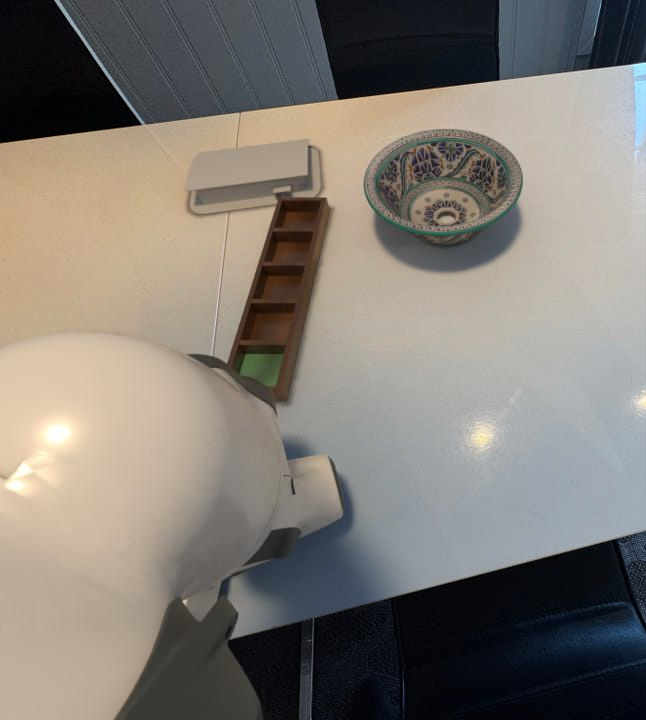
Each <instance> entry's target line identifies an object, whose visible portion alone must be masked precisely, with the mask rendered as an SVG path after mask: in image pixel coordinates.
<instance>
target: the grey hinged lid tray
mask: <svg viewBox="0 0 646 720" xmlns="http://www.w3.org/2000/svg"><path fill="white" fill-rule="evenodd" d="M309 143H310V138H303V139H295V140H288V141H286V140H285V141H280V142H272V143H263V144H254V145H247V146H238V147H231V148H224V149H222V148H221V149H216V150H206V151H199V152H197V153H196V155H195V156H194V157H193V159H192V161H191V164H190V167H189V171H188V174H187V178H186V179H187V180H186V183H185V190H184V191H185V193H187V192H191V194H190V199H189V207H190V211H192V212H193V213H194V214H196V215H209V214H215V213H223V212H229V211H231V212H232V211H238V210H245V209H251V208H252V209H253V208H261V207H266V206H274V205H277V201H278V198H279V197H317V196H318V194H320V191H321V188H322V181H321V166H320V155H319V152H318V151H317V150H316V149H315V148H313V147H309Z"/></svg>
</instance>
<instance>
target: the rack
mask: <svg viewBox="0 0 646 720" xmlns="http://www.w3.org/2000/svg"><path fill="white" fill-rule="evenodd" d="M330 213H331V208H330V205H329V201H328V198H327V197H325V196H324V197H323V196H321V197H319V196H318V197H317V196H315V197H279V198H278V201H277V204H275V208H274V211H273V215H272V217H271V221H270V224H269V227H268V231H267V234H266V237H265V241H264V242H263V243H264V244H263V247H262V250H261V253H260V256H259V259H258V263H257V266H256V269H255V273H254V276H253V279H252V282H251V285H250V288H249V292H248V295H247V298H246V301H245V304H244V308H243V311H242V314H241V317H240V320H239V323H238V326H237V330H236V333H235V337H234V340H233V343H232V346H231V350H230V353H229V356H228V359H227V362H226V363H227V364H228V365H229V366H230V367H231V368H232V369H233V370H234V371H235V372H236V373H238V374H239V375H242V376H248V377H251V378H253V379H255V380H257V381H259V382H261V383H263V384H264V385H266V386H267V387H268V388H270V389H271V390H272V391H273V393H274V399H275V402H288V399H289V393H290V389H291V385H292V381H293V376H294V372H295V369H296V368H295V367H296V363H297V358H298V355H299V349H300V346H301V341H302V337H303V332H304V328H305V323H306V319H307V315H308V311H309V306H310V301H311V297H312V292H313V287H314V285H315V284H314V283H315V280H316V275H317V270H318V266H319V261H320V257H321V253H322V248H323V244H324V239H325V235H326V230H327V227H328V222H329V218H330V215H331V214H330Z"/></svg>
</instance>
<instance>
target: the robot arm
mask: <svg viewBox="0 0 646 720" xmlns="http://www.w3.org/2000/svg"><path fill="white" fill-rule="evenodd" d="M336 468H337V466H336V464H335V462H334V460H333V459H332V458H331V457H330V456H329V455H328V454H325V453H324V454H323V453H321V454H314V455H309V456H304V457H299V458H292V459H287V455H286V450H285V446H284V442H283V437H282V435H281V430H280V426H279V421H278V412H277V406H276V401H275V399H274V393H273V391H272V390H271V389H270V388H268V387H267V386H266V385H264V384H263V383H261V382H259V381H257V380H255V379H253V378H251V377H248V376H242V375H239V374H238V373H236V372H235V371H234V370H233V369H232V368H231V367H230V366H229V365H228V364H227V362H225V361H224V360H222V359H221V358H219V357H217V356H214V355H209V354H203V353H184V352H183V351H179V350H178V349H175V348H173V347H170V346H167V345H165V344H163V343H160V342H157V341H155V340H153V339H150V338H147V337H143V336H139V335H135V334H131V333H127V332H120V331H112V330H103V329H73V330H64V331H57V332H50V333H45V334H41V335H36V336H31V337H27V338H24V339H22V340H21V339H20V340H18V341H15V342H13V343H9V344H7V345H3V346H1V347H0V720H264V716H263V710H262V704H261V701H260V699H259V696H258V695H257V692H256V691H255V689H254V687H253V684H252V683H251V681H250V679H249V677H248V676H247V674H246V673H245V671H244V670H243V668H242V667H241V664H240V663H239V661H238V659H237V658H236V657H235V655H234V653H233V652H232V650H231V649H230V647H229V642H230V640H231V638H232V635H233V633H234V630H235V628H236V625H237V623H238V620H239V612H238V610H237V609H236V608H235V607H234V605H233V604H232V603H231V601H230V600H229V597H227V595H221V596H220V597H219V595H220V590H221V585H222V582H223V581H224V580H226V579H227V578H232V577H235V576H238V575H241V574H243V573H245V572H246V571H248V570H250V569H253V568H254V567H257V566H260V565H262V564H265V563H267V562H271V561H273V560H277V559H286V558H289V556H290V554H291V553H292V552H293V550H294V548H295V546H296V545H297V543H298V542H299V539H301V538H304V537H306V536H309V535H311V534H313V533H315V532H317V531H319V530H321V529H323V528H326V527H328V526H330V525H331V524H333V523H335V522H337V521H338V520H340V519H342V518H343V517H344V513H345V510H346V503H345V497H344V495H343V493H344V492H343V489H342V484H341V480H340V476H339V474H338V471H337V469H336Z"/></svg>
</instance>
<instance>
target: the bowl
mask: <svg viewBox="0 0 646 720" xmlns="http://www.w3.org/2000/svg"><path fill="white" fill-rule="evenodd" d="M523 187H524V176H523V171H522V167H521V164H520V163H519V161H518V159H517V157H516V156H515V154H513V153H512V152H511V151H510V150H509V148H507V147H506V146H504V145H503V144H502V143H500V142H499V141H497V140H495V139H493V138H491V137H489V136H487V135H484V134H482V133H478V132H475V131H471V130H465V129H457V128H437V129H428V130H427V129H426V130H422V131H418V132H417V131H416V132H414V133H410V134H408V135H405V136H403V137H401V138H398V139H396V140H394V141H392V142H391V143H389V144H388V145H386V146H385V147H383V148H382V149H381V150H380V151H379V152H378V153H376V155H375V156H374V157H373V158H372V159H371V161H370V163H369V164H368V165H367V168H366V170H365V173H364V177H363V192H364V195H365V198H366V201H367V203H368V205H369V207H370V209H372V210H373V212H374V213H375V214H377V216H378V217H379V218H380V219H382V220H383V221H384V222H386V223H387V224H389V225H391V226H393V227H395V228H397V229H399V230H402V231H404V232H406V233H407V234H409V235H410V236H412V237H414V238H416V239H418V240H421V241H422V242H427V243H431V244H437V245H446V246H448V245H454V244H458V243H462V242H465V241H468V240H470V239H473V238H475V237H476V236H478V235H480V234H481V233H483V232H485V230H486V229H488V227H489V226H491V225H493V224H494V223H496V222H498V221H499V220H502V218H504V217H505V216H506V215H507V214H508V213H510V211H511V210H512V209H513V208H514V206H515V205H516V204H517V202H518V200H519V199H520V197H521V193H522V190H523ZM442 213H451V214H453V215H454V220H453V221H450V222H441V220H439V219H438V217H439V216H440V214H442Z"/></svg>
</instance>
